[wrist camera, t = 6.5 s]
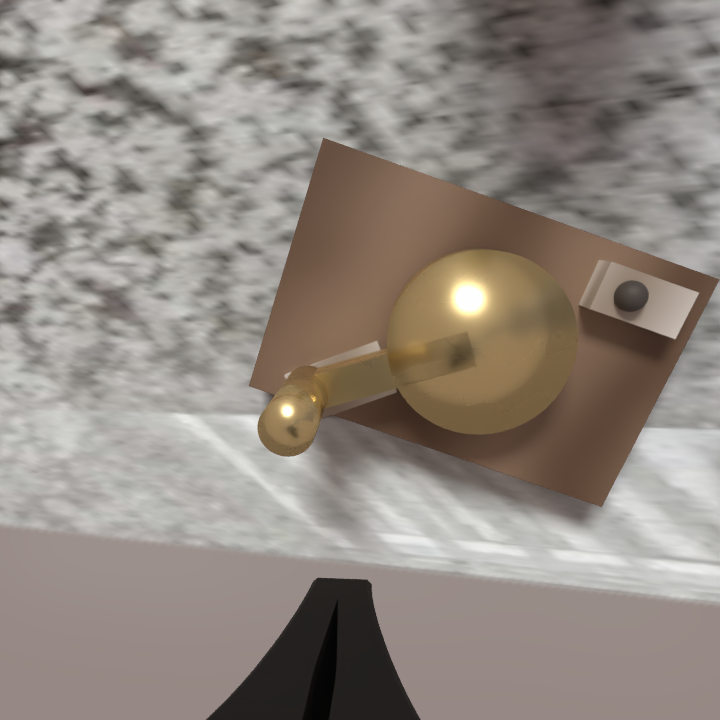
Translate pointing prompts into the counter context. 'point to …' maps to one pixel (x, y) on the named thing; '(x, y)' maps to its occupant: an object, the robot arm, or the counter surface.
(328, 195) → the stand
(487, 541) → the counter surface
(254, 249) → the counter surface
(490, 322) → the gold door handle
